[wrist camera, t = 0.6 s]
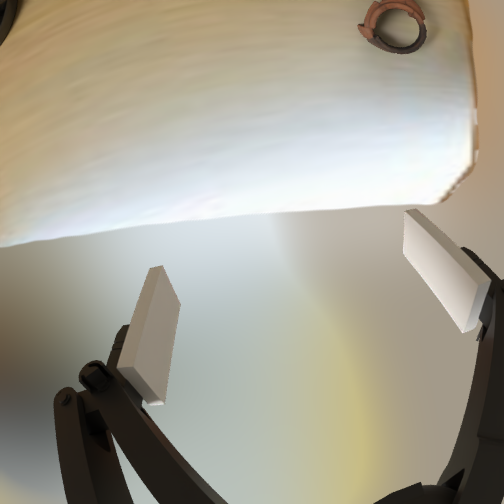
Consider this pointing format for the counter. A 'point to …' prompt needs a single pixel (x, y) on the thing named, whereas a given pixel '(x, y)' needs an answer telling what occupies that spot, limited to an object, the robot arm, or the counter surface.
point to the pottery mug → (405, 3)
